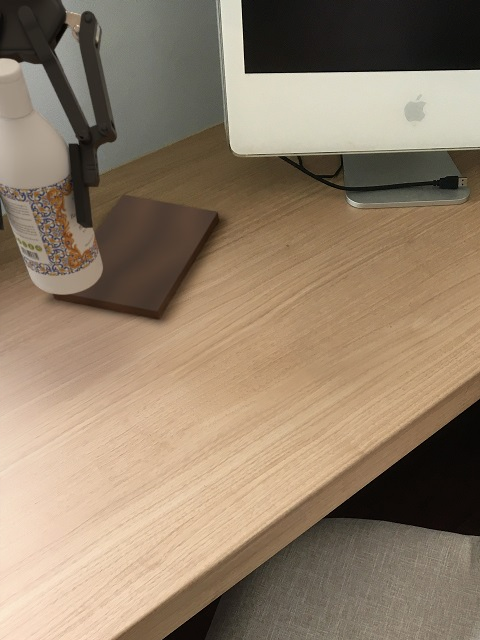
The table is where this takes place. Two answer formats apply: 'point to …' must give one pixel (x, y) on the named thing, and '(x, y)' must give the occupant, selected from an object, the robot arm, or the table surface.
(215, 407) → the table surface
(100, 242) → the walnut board
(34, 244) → the bath foam
